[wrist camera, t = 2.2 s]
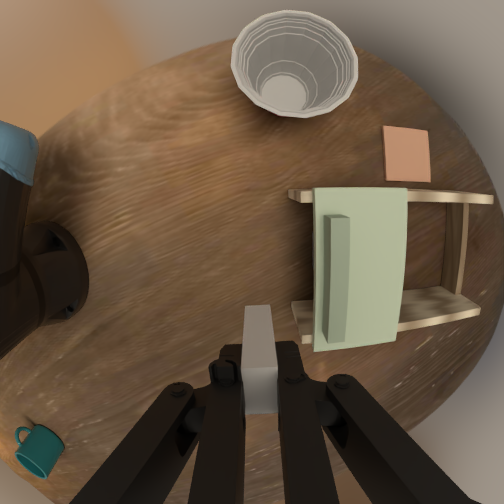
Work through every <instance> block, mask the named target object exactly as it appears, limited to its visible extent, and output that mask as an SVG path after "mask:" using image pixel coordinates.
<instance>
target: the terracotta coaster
mask: <svg viewBox="0 0 504 504" xmlns="http://www.w3.org/2000/svg"><path fill="white" fill-rule="evenodd" d="M381 129H382V141H383V156H384V177H385V180H388V181H415V182H430V157H429V143H428V131H424V130H417V129H409V128H401V127H391V126H381Z"/></svg>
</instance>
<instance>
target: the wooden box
mask: <svg viewBox="0 0 504 504" xmlns="http://www.w3.org/2000/svg"><path fill="white" fill-rule="evenodd" d="M288 197H289V198H290V199H293V200H295V201H298V202H300V203H308V202H313V194H312V189H288ZM407 201H423V202H447V220H446V239H445V252H444V262H443V271H442V279H441V286H436V287H429V288H421V289H413V290H405V291H402V299H401V307H400V314H399V321H398V328H397V332H398V331H404V330H410V329H415V328H421V327H426V326H431V325H436V324H441V323H445V322H450V321H454V320H459V319H463V318H467V317H471V316H475V315H479V314H480V309H481V307H480V306H478V305H476V304H475V303H473V302H472V301H470V300H469V299H467V298H465V297H464V296H462V295H461V294H460V292H461V286H462V280H463V272H464V265H465V256H466V245H467V232H468V213H469V203H484V204H493V195H485V194H477V193H469V192H460V191H448V190H428V189H407ZM313 304H314V300H302V301H291V309H292V312H293V315H294V318H295V322H296V325H297V328H298V332H299V335H300V338H301V342H302V344H304V343H312V339H313Z"/></svg>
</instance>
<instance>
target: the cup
mask: <svg viewBox="0 0 504 504" xmlns="http://www.w3.org/2000/svg"><path fill="white" fill-rule="evenodd" d="M22 430H24V431H27V432H28V433H29V434H28V435H27V436H26V438H25V439H24V441H23V442H22V443H21V442H20V439H19V432H20V431H22ZM15 439H16V442H17V443H18V445H19V447H18V449H17V450H16V452H15V457H16V458H17V460H18V461H19V462H20V463H21V465H22V466H24V467H25V468H26V469H27V470H28V471H29V472H31V473H32V474H34V475H35V476H37V477H39V478H42V479H47V478H48V476H49V474H50V472H51V471H52V469H53V467H54V465H55V464H56V462H57V460H58V459H59V457H60V455H61V454H62V452H63V450H64V445H63V443H62V441H61V440H60V439H59V438H58V436H57V435H56V434H54V433H53V432H52V431H51V430H49V429H48V428H46V427H44V426H41V425H35V426H34V427H33V428H32V430H30V429H29V428H27V427H19V428H17V429H16V431H15Z"/></svg>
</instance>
